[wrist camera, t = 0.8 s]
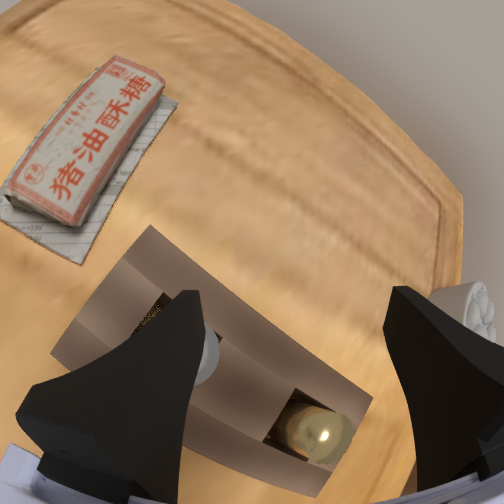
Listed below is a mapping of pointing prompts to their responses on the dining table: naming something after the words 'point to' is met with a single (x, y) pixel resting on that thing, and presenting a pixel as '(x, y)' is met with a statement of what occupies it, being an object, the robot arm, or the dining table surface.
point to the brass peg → (313, 431)
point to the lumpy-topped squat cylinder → (467, 307)
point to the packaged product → (85, 157)
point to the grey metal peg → (208, 356)
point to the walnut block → (219, 364)
